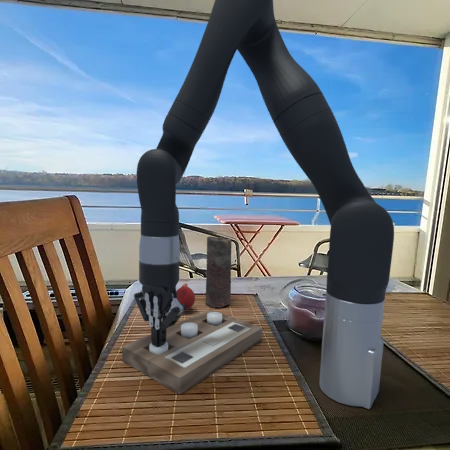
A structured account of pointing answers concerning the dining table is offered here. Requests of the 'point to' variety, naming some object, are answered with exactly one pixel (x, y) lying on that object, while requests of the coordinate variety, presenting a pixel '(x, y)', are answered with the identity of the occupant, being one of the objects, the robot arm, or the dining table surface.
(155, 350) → the button left
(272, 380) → the dining table surface
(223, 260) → the candle
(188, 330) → the button middle
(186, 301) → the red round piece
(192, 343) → the button board
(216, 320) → the button right
